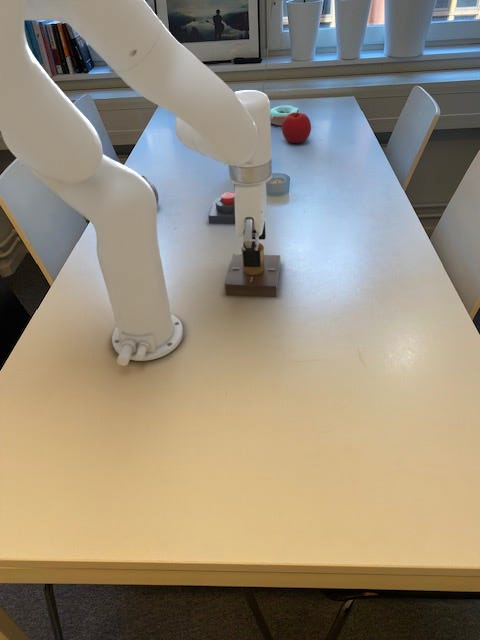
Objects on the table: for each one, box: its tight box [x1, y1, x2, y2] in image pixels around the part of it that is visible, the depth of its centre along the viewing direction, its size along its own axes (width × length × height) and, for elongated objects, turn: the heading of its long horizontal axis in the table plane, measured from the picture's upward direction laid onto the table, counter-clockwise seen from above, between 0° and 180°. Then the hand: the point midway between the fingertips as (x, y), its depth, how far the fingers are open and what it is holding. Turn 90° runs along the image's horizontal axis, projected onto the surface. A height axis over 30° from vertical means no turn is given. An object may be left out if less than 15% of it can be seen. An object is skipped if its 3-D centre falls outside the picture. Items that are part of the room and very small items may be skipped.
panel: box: [224, 253, 281, 298], centre depth 99 cm, size 11×10×3 cm
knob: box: [240, 240, 265, 275], centre depth 97 cm, size 4×4×5 cm
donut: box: [270, 105, 302, 127], centre depth 171 cm, size 12×12×4 cm
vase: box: [141, 175, 160, 207], centre depth 123 cm, size 7×7×9 cm
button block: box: [208, 195, 235, 225], centre depth 121 cm, size 9×9×4 cm
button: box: [220, 191, 235, 204], centre depth 119 cm, size 4×4×2 cm
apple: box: [281, 109, 312, 144], centre depth 154 cm, size 9×9×10 cm
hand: (255, 252), depth 96 cm, fingers open, 9 cm apart
